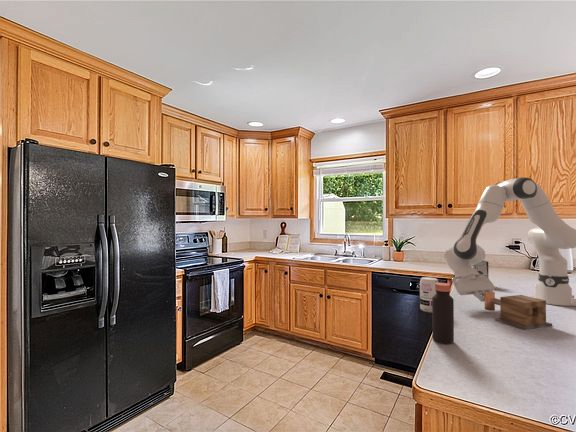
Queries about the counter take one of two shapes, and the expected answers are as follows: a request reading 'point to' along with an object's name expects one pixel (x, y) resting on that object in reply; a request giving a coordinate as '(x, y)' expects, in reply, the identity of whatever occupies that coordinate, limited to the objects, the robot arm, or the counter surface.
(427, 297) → the supplement can
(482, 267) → the coffee box
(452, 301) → the bottle
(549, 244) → the robot arm
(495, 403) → the counter surface
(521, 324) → the block
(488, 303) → the shaft
